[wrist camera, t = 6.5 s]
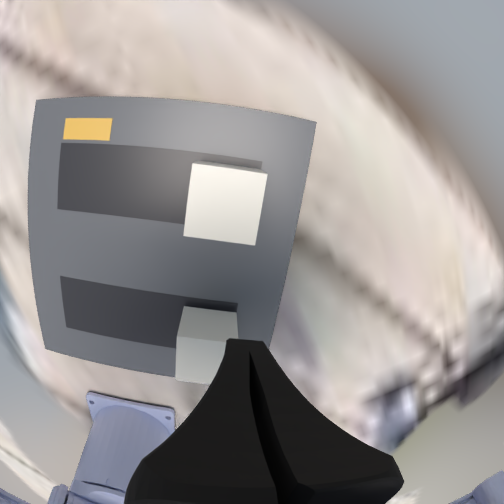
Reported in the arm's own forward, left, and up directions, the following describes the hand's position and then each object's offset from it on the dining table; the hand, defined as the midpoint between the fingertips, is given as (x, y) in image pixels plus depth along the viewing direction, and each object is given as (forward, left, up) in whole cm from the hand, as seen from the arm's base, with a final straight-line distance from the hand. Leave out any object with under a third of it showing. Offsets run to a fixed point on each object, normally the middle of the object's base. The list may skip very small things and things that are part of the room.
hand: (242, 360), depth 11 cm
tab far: (-3, +1, -6) cm, 7 cm away
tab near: (+5, +1, -6) cm, 8 cm away
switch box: (+1, +5, -9) cm, 10 cm away
